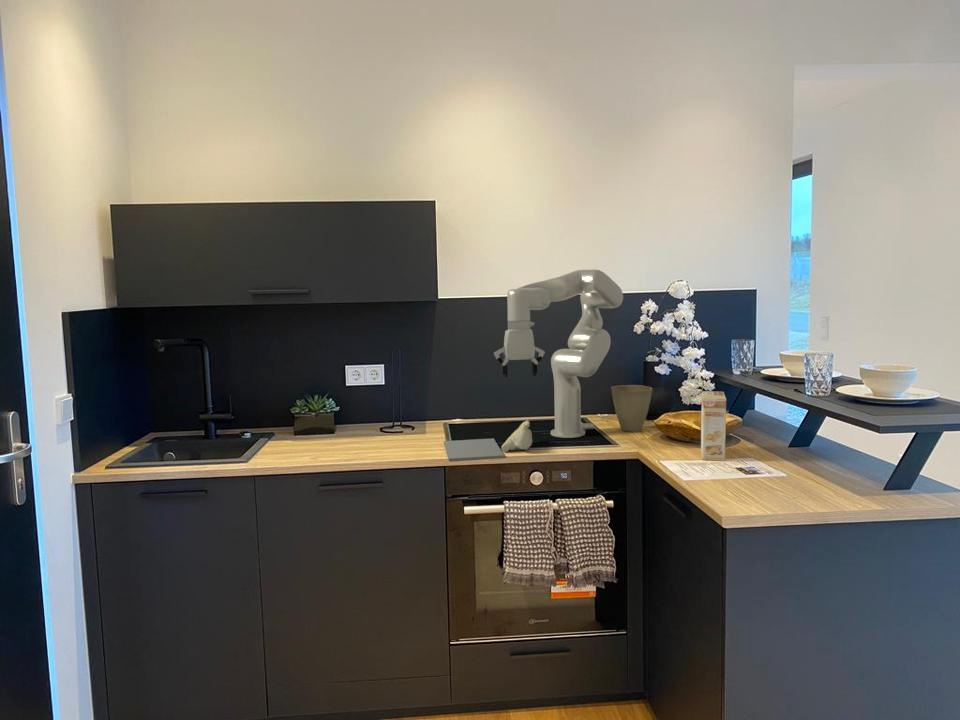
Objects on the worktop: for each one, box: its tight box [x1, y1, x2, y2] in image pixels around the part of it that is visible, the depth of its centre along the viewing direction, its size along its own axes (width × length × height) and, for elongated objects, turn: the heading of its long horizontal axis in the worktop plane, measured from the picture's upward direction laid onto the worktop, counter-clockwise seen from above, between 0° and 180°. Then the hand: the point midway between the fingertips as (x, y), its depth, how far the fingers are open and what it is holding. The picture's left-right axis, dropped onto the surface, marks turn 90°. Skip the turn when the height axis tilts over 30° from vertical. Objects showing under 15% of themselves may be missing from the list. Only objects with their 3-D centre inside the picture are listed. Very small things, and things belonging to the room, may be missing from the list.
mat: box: [443, 438, 505, 462], centre depth 236 cm, size 18×24×1 cm
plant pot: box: [610, 384, 653, 433], centre depth 259 cm, size 15×15×16 cm
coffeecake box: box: [700, 390, 727, 462], centre depth 221 cm, size 15×7×20 cm, turn 164°
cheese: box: [501, 419, 533, 453], centre depth 236 cm, size 15×7×15 cm
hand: (519, 376), depth 235 cm, fingers open, 9 cm apart
